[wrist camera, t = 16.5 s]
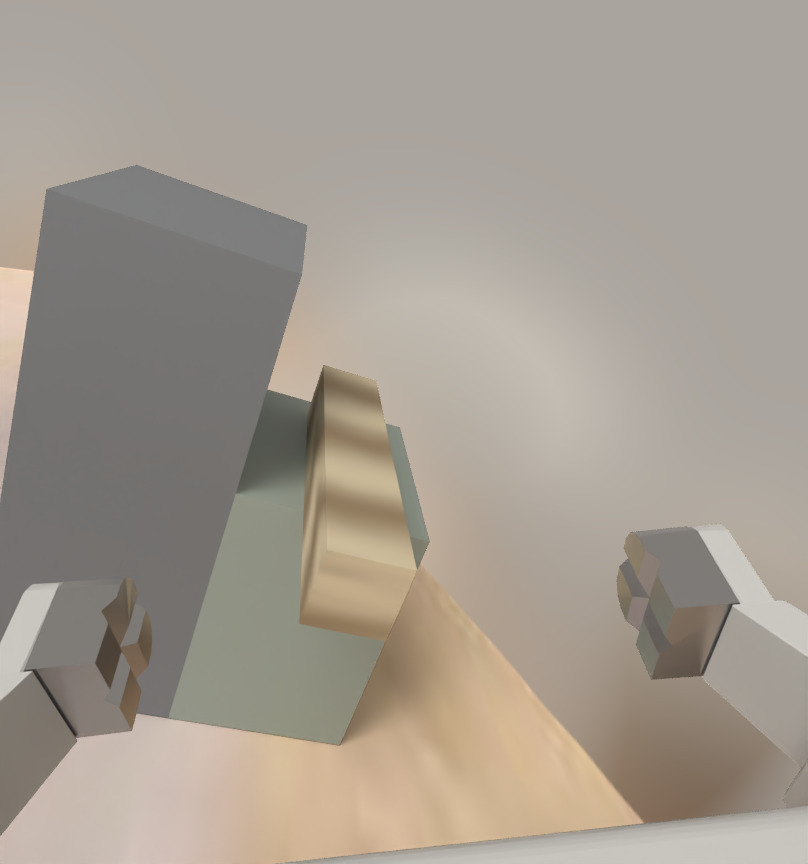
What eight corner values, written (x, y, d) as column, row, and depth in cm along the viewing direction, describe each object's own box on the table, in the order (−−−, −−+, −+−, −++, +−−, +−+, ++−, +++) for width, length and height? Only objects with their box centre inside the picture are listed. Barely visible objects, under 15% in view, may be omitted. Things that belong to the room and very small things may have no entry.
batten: (385, 641, 26) (417, 570, 25) (299, 623, 25) (327, 549, 24) (358, 428, 44) (376, 380, 43) (307, 413, 43) (323, 364, 42)
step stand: (339, 745, 40) (516, 345, 30) (-28, 686, 35) (46, 189, 25) (334, 594, 52) (458, 278, 43) (64, 535, 47) (136, 165, 38)
